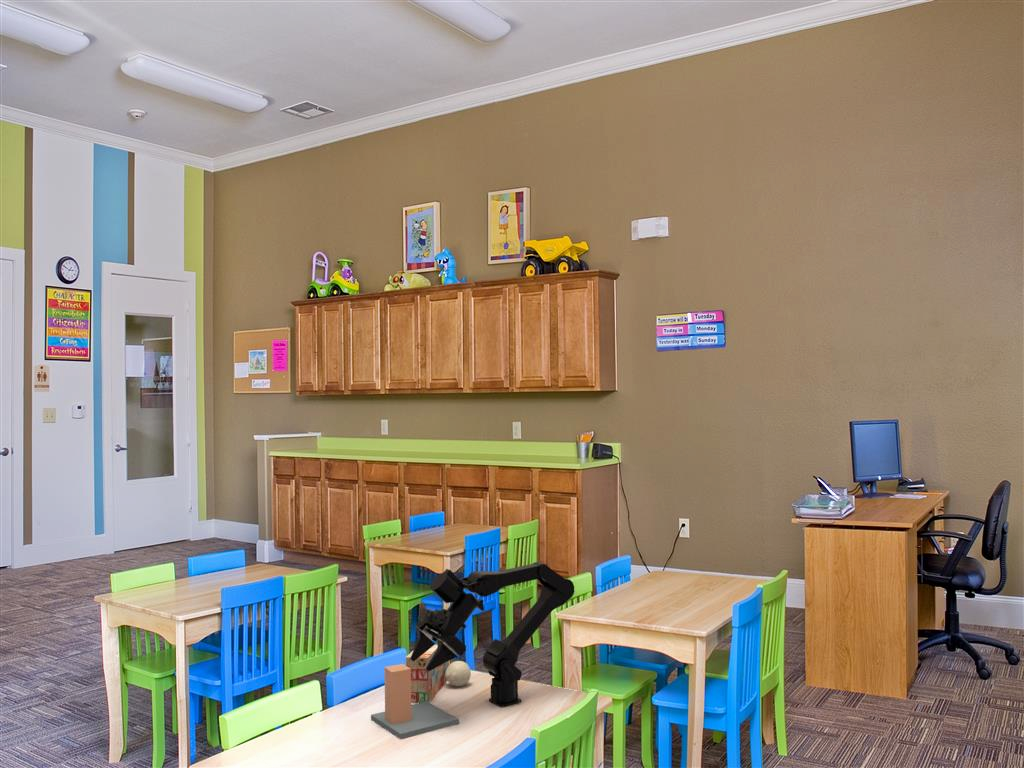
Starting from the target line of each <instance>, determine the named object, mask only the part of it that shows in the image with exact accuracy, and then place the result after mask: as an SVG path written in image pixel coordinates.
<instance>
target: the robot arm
mask: <svg viewBox="0 0 1024 768" xmlns="http://www.w3.org/2000/svg"><path fill="white" fill-rule="evenodd" d="M454 573H455V572H453V571H452V570H451V569H448V568H446V569H445V570H444V571H443V572H441V573H439V574H438V575H437V576H434V578H433V579H432V581H431V583H430V585H429V589H430V590H431V591H432V592H433V593H434V594H435V595H436V596H437V597H438V598H439V599H441V601H443V602H444V603H445V604H449V603H451V604H450V605H449V606H448V607H447V609H446V608H443V609H441V610H440V609H438V608H435V610H433V609H431V608H427V607H424V606H422V607H421V609H420V612H419V614H418V617H417V620H418V621H417V623H416V624H415V625H414V626H415V631H416V634H417V639H416V642H415V645H414V648H413V650H412V651H413V653H412V655H411V658H410V659H411V660H412V661H415V660H416V659H418V658H419V657H420V656H421V655H423V654H424V653H425V652H426V651H427V650H429V649H430V648H431V647H432V646H434V645H436V643H435V642H436V641H437V645H438V646H437V650H436V652H435V654H434V655H433V657H432V659H431V660H430V662H429V663H428V665H427V667H426V670H427V671H431V670H433V669H434V668H436V667H438V666H440V665H442V664H443V663H445V662H447V661H449V662H450V661H451V660H453V659H458V657H461V658H462V656H463V655H464V654H465V653H466V651H467V645H466V644H465V643H464V642H463V641H462V640H460V638H458V637H457V634H458V633H459V631H460V630H461V629H463V630H465V629H467V625H466V622H467V621H468V619H469V618H470V617H471V615H472V614H473V613H474V611H475V610H476V609H477V610H478V611H482V612H483V611H485V605H484V600H483V599H481V598H477V597H475V596H474V595H477V596H480V597H483V598H485V597H486V598H487V597H489V596H491V595H493V594H495V593H497V592H499V591H500V590H502V589H503V588H506V587H509V586H513V585H518V584H522V583H523V584H524V583H527V582H531V581H534V580H535V581H536V580H537V581H538V583H539V584H540V585H541V586H542V587H541V590H540V594H539V598H538V600H537V601H536V602H535V603H534V604H533V605H532V607H531V608H530V609H529V611H528V612H527V613H526V614H525V615H524V616H523V617H522V618H521V620H520V621H519V622H518V623H517V625H516V626H515V627H514V628H513V629H512V630H511V632H510V633H509V634H508V635H507V637H506V638H504V639H503V640H499V639H496V638H494V639H493V641H491V644H490V645H489V646H488V647H486V648H485V650H484V651H485V653H484V654H483V656H482V659H483V660H482V663H483V666H484V668H485V669H486V670H487V672H488V674H489V676H492V678H491V685H490V697H489V698H488V701H489V702H491V703H493V704H495V705H497V706H499V707H506V706H509V705H514V704H517V703H521V702H522V698H520V697H519V691H518V690H519V684H518V681H521V678H522V674H523V672H522V671H521V670H520V668H518V667H517V666H516V664H517V662H518V659H519V656H520V655H519V654H520V652H521V649H523V647H524V646H525V645H526V643H527V642H528V641H529V640H530V639H531V638H532V636H533V635H534V634H535V633H536V631H537V630H538V629H539V627H541V625H542V624H543V623H544V622H545V620H546V619H547V618H548V617H549V616H550V614H551V613H552V612H553V611H554V610H556V609H558V608H559V607H562V606H564V605H565V604H566V603H567V602H568V601H570V599H572V598H573V597H574V595H575V592H576V591H575V585H574V583H573V581H572V580H571V579H569V578H565V577H563V576H562V575H560V574H559V573H557V572H556V571H555V570H553V569H551V568H550V566H548V564H546V563H542V562H539V561H535V562H533V563H528V564H525V565H520V566H517V567H516V566H515V567H510V568H508V569H502V570H499V571H498V570H497V571H493V570H492V571H490V570H477V571H472V572H470V573H469V574H468V576H464V577H462V578H458V576H456V575H455V574H454ZM465 590H466V591H468V592H469V593H466V592H465Z"/></svg>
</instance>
